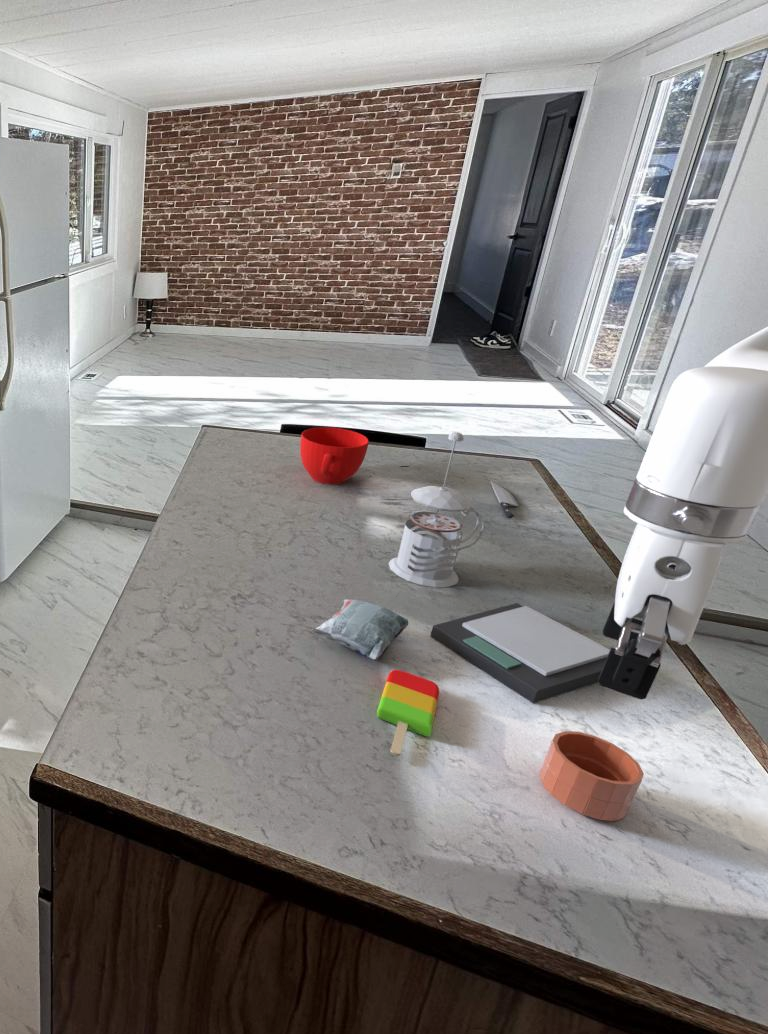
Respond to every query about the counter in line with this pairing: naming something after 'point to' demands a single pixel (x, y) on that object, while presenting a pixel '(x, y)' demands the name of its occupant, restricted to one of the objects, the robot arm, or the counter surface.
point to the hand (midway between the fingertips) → (621, 664)
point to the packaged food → (363, 628)
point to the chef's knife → (504, 499)
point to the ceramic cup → (332, 453)
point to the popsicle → (408, 705)
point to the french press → (422, 560)
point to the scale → (525, 650)
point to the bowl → (590, 775)
